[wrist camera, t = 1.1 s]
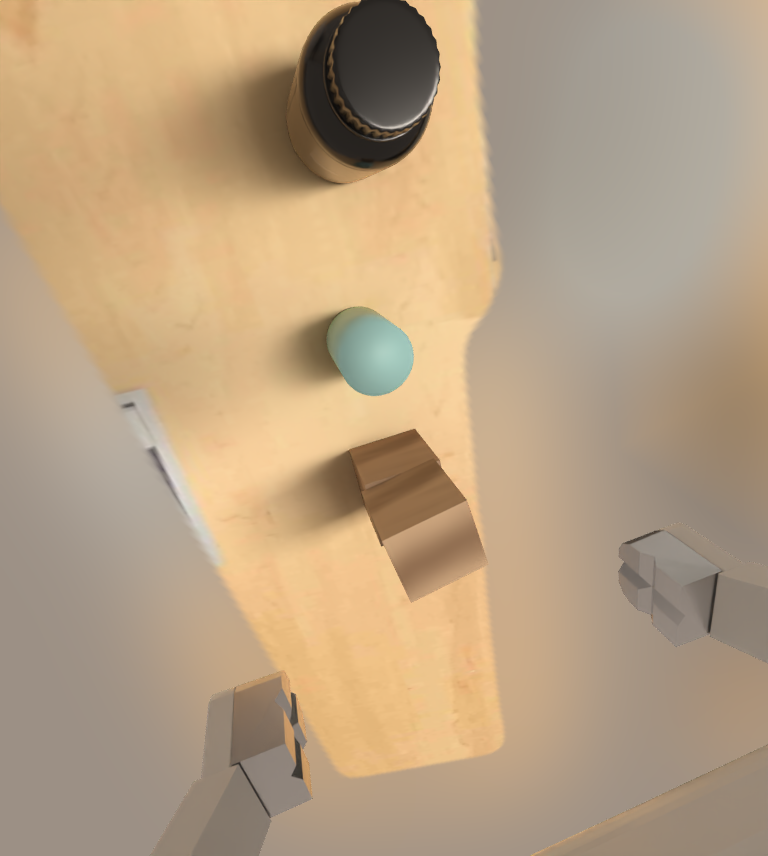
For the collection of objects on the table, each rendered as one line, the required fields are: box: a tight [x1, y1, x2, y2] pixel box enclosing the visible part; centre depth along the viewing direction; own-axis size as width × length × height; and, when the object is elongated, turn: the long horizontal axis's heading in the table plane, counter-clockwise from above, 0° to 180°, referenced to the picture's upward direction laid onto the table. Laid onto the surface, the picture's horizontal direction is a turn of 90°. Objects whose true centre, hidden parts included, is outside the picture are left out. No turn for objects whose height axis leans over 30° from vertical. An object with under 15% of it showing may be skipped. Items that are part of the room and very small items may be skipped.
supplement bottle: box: [286, 0, 441, 183], centre depth 25 cm, size 7×7×12 cm
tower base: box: [349, 429, 441, 546], centre depth 39 cm, size 6×6×6 cm
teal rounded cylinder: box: [326, 307, 414, 396], centre depth 33 cm, size 5×5×6 cm
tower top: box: [361, 458, 488, 603], centre depth 33 cm, size 6×6×6 cm
